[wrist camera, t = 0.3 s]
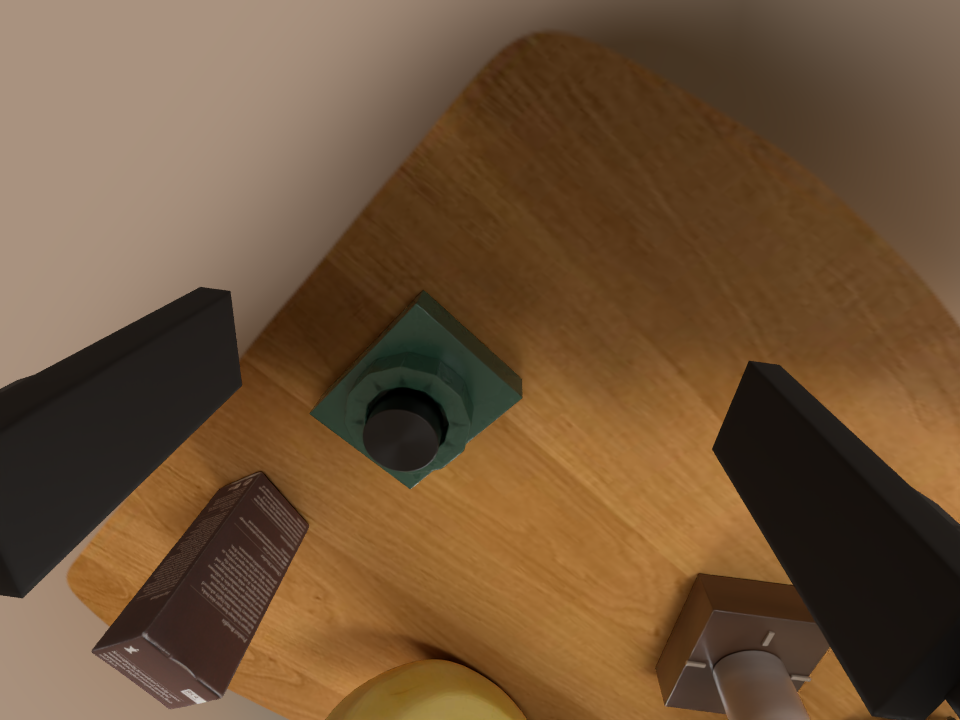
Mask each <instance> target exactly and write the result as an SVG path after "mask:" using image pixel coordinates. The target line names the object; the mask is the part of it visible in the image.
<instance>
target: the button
mask: <svg viewBox="0 0 960 720" xmlns="http://www.w3.org/2000/svg"><path fill="white" fill-rule="evenodd" d="M443 426H444V421H443V416H442V413H441V411H440V409H439V407H438V406H437V404H436V403H435V402H434V401H433V400H432V399H430V398H429V397H428V396H426V395H424V394H422V393H420V392H417V391H413V390H406V389H404V390H395V391H392V392H389V393H387V394H385V395H384V396H382V397H381V398H380V399H379V400H378V401H377V403H376V404H375V406H374V408H373V410H372V412H371V414H370V416H369V418H368V420H367V422H366V424H365V427H364V430H363V443H364V446H365V449H366V451H367V452H368V454H369V455H370V456H371V457H372V459H373V460H375V461H376V462H377V463H379V464H380V465H382V466H384V467H386V468H388V469H391V470H394V471H400V472H410V471H415V470H419V469H421V468H423V467H425V466H427V465H428V464H429V463H430V462H431V461H432V460H433V459H434V458H435V456H436V454H437V451H438V448H439V444H440V439H441V435H442V431H443Z"/></svg>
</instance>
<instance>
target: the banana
mask: <svg viewBox="0 0 960 720" xmlns="http://www.w3.org/2000/svg"><path fill="white" fill-rule="evenodd" d="M325 720H527V719H526V717H525V716H524V715H523V713H522V712H521V711H520V709H519V708H518V707H517V706H516V704H515V703H514V702H513V701H512V700H511V699H510V698H509V697H508V696H507V694H506V693H505V692H503V691H502V690H501V689H500V688H499V687H498V686H496V685H495V684H494V683H493V682H491V681H490V680H488V679H487V678H485V677H484V676H482V675H480V674H479V673H477V672H475V671H473V670H471V669H469V668H467V667H465V666H463V665H460V664H457V663H454V662H451V661H446V660H439V659H428V660H420V661H415V662H411V663H407V664H404V665H401V666H399V667H396V668H393V669H391V670H389V671H386V672H384V673H382V674H380V675H378V676H376V677H374V678H372V679H370V680H368V681H367V682H365V683H364V684H362V685H361V686H359V687H358V688H356V689H355V690H354V691H352V692H351V693H350V694H349V695H348V696H346V697H345V698H344V699H343V700H342V701H341V702H340V703H339V704H338V705H337V706H336V707H335V708H334V709H333V710H332V712H331V713H330V714H329V716H328V717H327V718H326V719H325Z"/></svg>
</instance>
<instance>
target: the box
mask: <svg viewBox="0 0 960 720" xmlns="http://www.w3.org/2000/svg"><path fill="white" fill-rule="evenodd" d="M308 528H309V525H308V524H307V523H306V522H305V521H304V519H303V518H302V517H301V516H300V515H299V514H298V513H297V512H296V511H295V509H294V508H293V507H292V506H291V505H290V504H289V503H288V502H287V500H286V499H285V498H284V497H283V496H282V495H281V494H280V493H279V491H278V490H277V489H276V488H275V487H274V486H273V485H272V484H271V482H270V481H269V480H268V479H267V478H266V476H265V475H264V474H263V473H262V472H260V473H254V474H252V475H251V476H248V477H246V478H243V479H241V480H239V481H236V482H234V483H232V484H229V485H227V486H225V487H223V488H221V489H219V490H218V491H217V493H216V494H215V495H214V496H213V498H212V499H211V500H210V501H209V503H208V504H207V505H206V507H205V508H204V509H203V510H202V511H201V513H200V514H199V515H198V517H197V518H196V519H195V520H194V521H193V523H192V524H191V525H190V527H189V528H188V529H187V531H186V532H185V533H184V534H183V536H182V537H181V538H180V539H179V541H178V542H177V543H176V544H175V546H174V547H173V548H172V549H171V551H170V552H169V553H168V554H167V556H166V557H165V558H164V559H163V561H162V562H161V563H160V565H159V566H158V567H157V568H156V569H155V571H154V572H153V573H152V575H151V576H150V577H149V579H148V580H147V581H146V582H145V584H144V585H143V586H142V588H141V589H140V590H139V591H138V593H137V594H136V595H135V596H134V598H133V599H132V600H131V601H130V602H129V604H128V605H127V606H126V607H125V609H124V610H123V611H122V613H121V614H120V615H119V617H118V618H117V619H116V620H115V621H114V623H113V624H112V625H111V626H110V628H109V629H108V630H107V631H106V633H105V634H104V636H103V637H102V638H101V639H100V640H99V642H98V643H97V644H96V646H95V647H94V648H93V649H92V653H93V654H95V655H96V656H98V657H99V658H100V659H102V660H103V661H105V662H106V663H108V664H109V665H110V666H112V667H113V668H115V669H116V670H118V671H119V672H120V673H122V674H123V675H125V676H126V677H127V678H129V679H130V680H131V681H133V682H134V683H135V684H137V685H138V686H140V687H141V688H142V689H144V690H145V691H146V692H148V693H149V694H150V695H152V696H153V697H154V698H156V699H157V700H158V701H160V702H161V703H162V704H163V705H165V706H166V707H167V708H169V709H175V708H180V707H185V706H189V705H194V704H199V703H203V702H207V701H212V700H217V699H220V698H222V697H223V696H224V694H225V692H226V690H227V688H228V686H229V684H230V681H231V679H232V678H233V676H234V674H235V672H236V670H237V668H238V666H239V664H240V662H241V660H242V658H243V656H244V654H245V652H246V650H247V648H248V646H249V644H250V642H251V640H252V638H253V636H254V634H255V632H256V630H257V628H258V626H259V624H260V622H261V620H262V618H263V616H264V614H265V612H266V611H267V608H268V606H269V604H270V602H271V600H272V598H273V596H274V595H275V593H276V591H277V589H278V587H279V585H280V583H281V581H282V579H283V577H284V575H285V573H286V571H287V569H288V567H289V565H290V563H291V561H292V559H293V557H294V556H295V554H296V552H297V550H298V548H299V546H300V544H301V542H302V540H303V538H304V536H305V534H306V533H307V530H308Z"/></svg>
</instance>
